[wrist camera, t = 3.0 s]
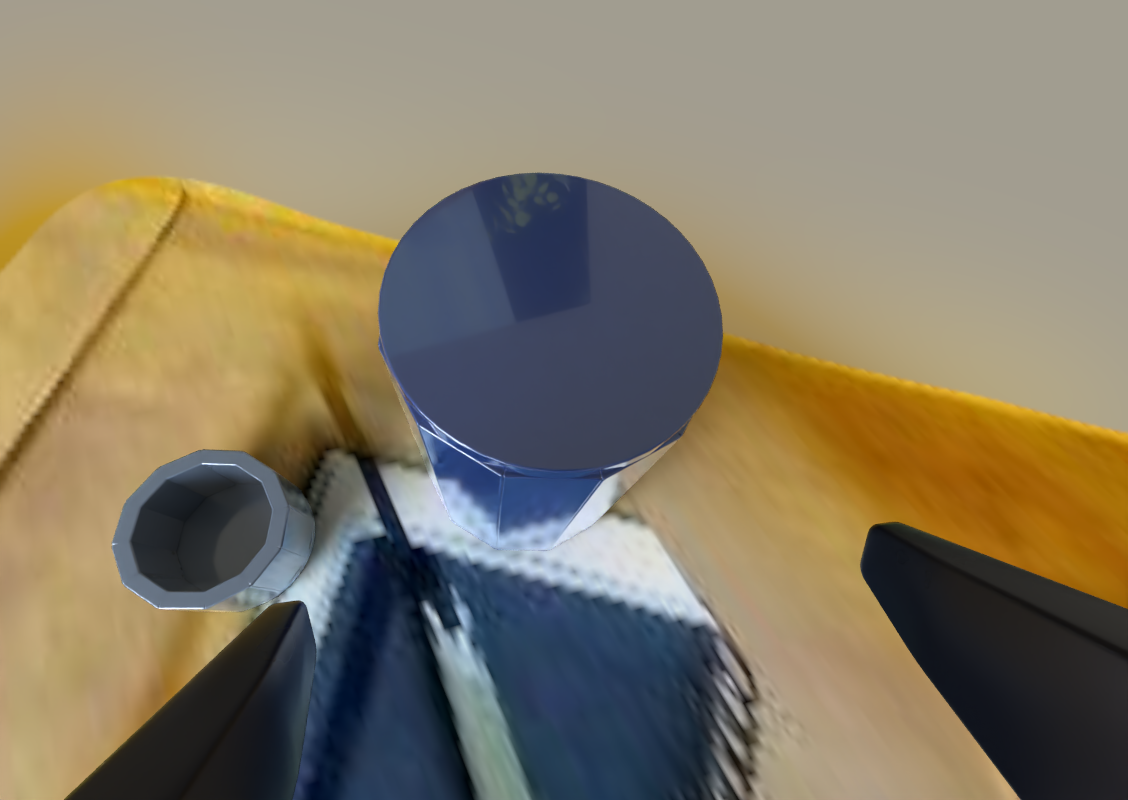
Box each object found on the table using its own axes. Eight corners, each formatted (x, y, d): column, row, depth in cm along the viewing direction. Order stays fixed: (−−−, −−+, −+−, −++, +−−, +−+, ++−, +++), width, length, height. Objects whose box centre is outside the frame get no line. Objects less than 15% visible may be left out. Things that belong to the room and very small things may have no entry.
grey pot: (249, 640, 18) (205, 642, 15) (137, 564, 18) (74, 552, 15) (343, 517, 20) (320, 499, 17) (239, 450, 20) (199, 422, 17)
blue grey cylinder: (557, 588, 20) (630, 547, 10) (392, 485, 20) (297, 345, 10) (644, 430, 22) (771, 269, 12) (497, 344, 23) (504, 125, 13)
